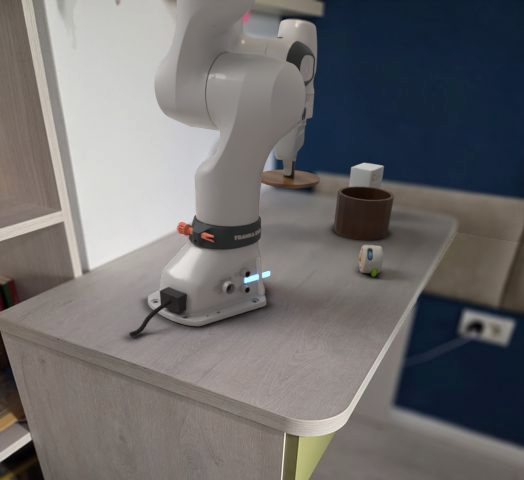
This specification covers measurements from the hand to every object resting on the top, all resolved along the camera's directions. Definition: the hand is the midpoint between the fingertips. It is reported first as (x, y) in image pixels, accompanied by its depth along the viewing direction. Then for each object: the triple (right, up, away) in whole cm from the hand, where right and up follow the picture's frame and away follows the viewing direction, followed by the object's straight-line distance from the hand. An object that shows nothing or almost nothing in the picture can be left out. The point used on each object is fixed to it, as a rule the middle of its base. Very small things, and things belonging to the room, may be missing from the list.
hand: (289, 172), depth 117 cm
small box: (+22, -3, +24) cm, 33 cm away
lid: (0, -1, +1) cm, 2 cm away
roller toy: (+16, -25, -12) cm, 32 cm away
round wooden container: (+19, -11, +11) cm, 25 cm away
